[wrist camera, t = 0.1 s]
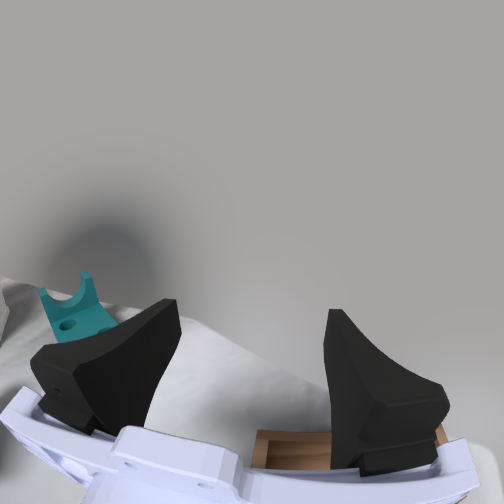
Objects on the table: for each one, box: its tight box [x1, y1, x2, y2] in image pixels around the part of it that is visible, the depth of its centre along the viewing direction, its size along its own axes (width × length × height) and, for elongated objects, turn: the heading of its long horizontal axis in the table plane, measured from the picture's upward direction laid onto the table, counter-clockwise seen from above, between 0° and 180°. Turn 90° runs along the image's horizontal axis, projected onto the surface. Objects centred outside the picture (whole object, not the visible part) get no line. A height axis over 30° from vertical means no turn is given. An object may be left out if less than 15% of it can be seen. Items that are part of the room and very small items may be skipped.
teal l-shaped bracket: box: [38, 272, 119, 343], centre depth 39 cm, size 18×11×10 cm, turn 49°
